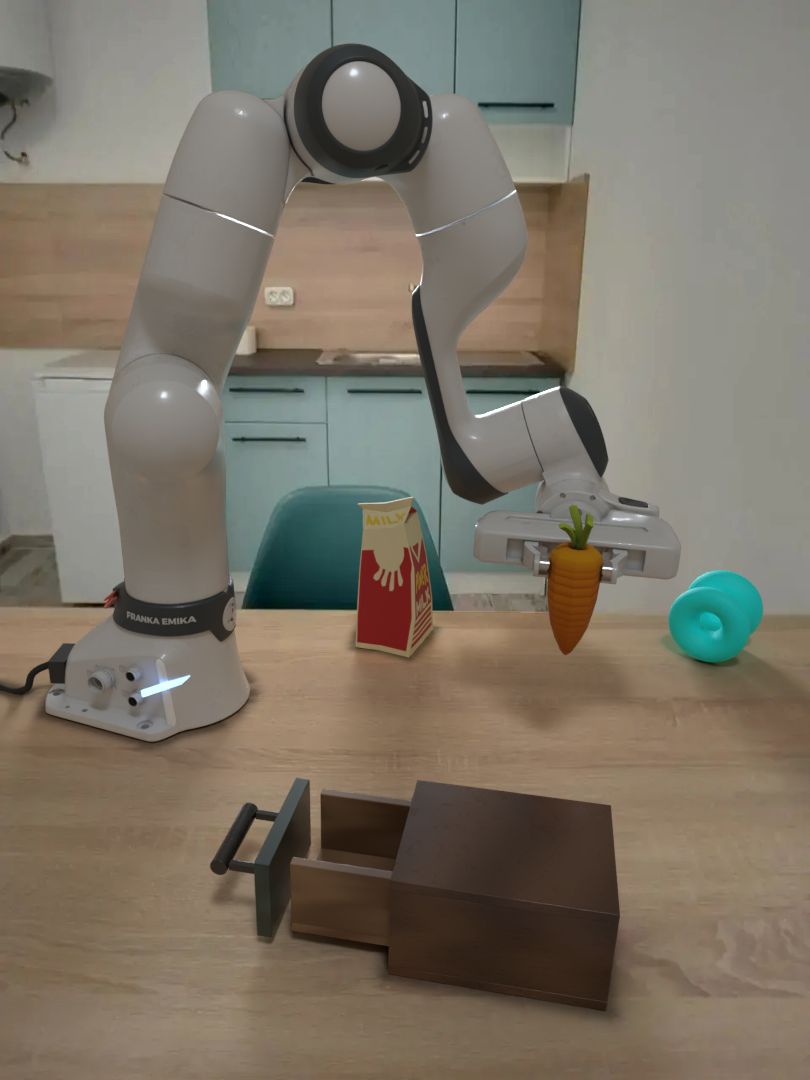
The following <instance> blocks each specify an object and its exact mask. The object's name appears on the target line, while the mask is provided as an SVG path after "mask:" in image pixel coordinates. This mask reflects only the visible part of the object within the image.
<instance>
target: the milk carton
mask: <svg viewBox="0 0 810 1080" xmlns="http://www.w3.org/2000/svg"><path fill="white" fill-rule="evenodd" d="M413 503H414V496H409V497H408V496H407V497H403V498H399V499H395V500H392V501H391V500H390V501H385V502H358V503H357V505H358V506H359V507H360V508H361V509H362V536H361V547H360V548H361V549H360V559H359V568H358V569H359V570H358V587H357V601H356V620H355V622H356V623H355V648H360V649H367V650H374V651H380V652H383V653H388V654H392V655H397V656H400V657H405V658H410V657H411V656H412V655H413V654H414V652H415V651H416V650H417V649H418V648H419V647H420V646H421V645H422V644H423V643H424V641H425V640H426V638H428V636H429V635H430V634H431V632H432V631H433V630H434V610H433V591H432V585H431V578H430V571H429V570H430V569H429V562H428V555H427V549H426V546H425V545H426V544H425V540H424V535H423V530H422V526H421V522H420V517H419V512H418V510H417V509H415V507H414V506H413Z"/></svg>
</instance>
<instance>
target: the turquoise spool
mask: <svg viewBox="0 0 810 1080" xmlns="http://www.w3.org/2000/svg"><path fill="white" fill-rule="evenodd" d="M763 615H764V603H763V599H762V597H761V594H760V591H758V589H757V587H756V586H755V584H753V583H752V582H751V581H750V580H749V579H747V578H746V577H745V576H743V575H741V574H739V573H737V572H735V571H731V570H730V571H729V570H725V569H717V570H711V571H707V572H704V573H702V574H700V575H699V576H697V578H695V579H694V580H693V581H692V582H691V583H690V585H689V587H688V588H687V590H686V591H683V592H682V593H681V594H680V595H678V597H677V598H676V599H675V600H674V601H673V603H672V604H671V607H670V609H669V612H668V617H667V618H668V620H667V621H668V622H667V623H668V624H667V625H668V629H669V633H670V636H671V637H672V639H673V641H674V642H675V644H676V646H678V648H680V650H682V651H683V652H684V653H685V654H686V655H688V656H689V657H692V658H693V659H696V660H698V661H701V662H706V663H722V662H725V661H728V660H731V659H733V658H735V657H736V656H738V655H739V654H740V653H741V652H743V650H744V648H745V647H746V645H747V643H748V641H749V639H750V636H751V635H752V634H754V633H755V632H756V631H757V629H758V628H759V626H760V625H761V622H762V620H763Z"/></svg>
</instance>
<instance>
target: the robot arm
mask: <svg viewBox="0 0 810 1080" xmlns="http://www.w3.org/2000/svg"><path fill="white" fill-rule="evenodd" d="M503 155H504V154H503V153H502V151H501V149H500V147H499V145H498V143H497V140H496V139H495V137H494V134H493V133H492V131H491V129H490V128H489V125H488V123H487V122H486V119H484V116H483V115H482V114H481V111H480V109H479V108H478V107H477V106H476V104H475V103H474V102H473V101H472V100H471V99H470V98H469V97H466V96H464V95H462V94H459V93H454V92H453V93H451V92H442V93H436V94H431V95H429V94H428V92H426V91H425V90H424V89H423V88H422V87H421V86H419V85H418V84H417V83H416V82H414V80H412V78H410V77H409V76H408V75H407V74H406V73H405V72H404V71H403V69H402V68H401V67H400V66H399V64H397V63H396V62H394V60H393V59H391V58H390V57H389V56H388V55H386V54H385V53H383V52H382V51H381V50H379V49H377V48H375V47H372V46H371V45H367V44H362V43H353V42H352V43H341V44H337V45H333V46H331V47H328V48H327V49H326V48H325V50H323V51H321V52H319V53H318V54H317V55H316V56H315V57H313V58H312V59H311V61H310V62H308V63H307V64H306V65H304V67H303V68H301V69H300V70H299V72H298V73H296V75H295V76H294V78H293V79H292V80H291V82H290V83H289V85H287V87H286V88H285V90H283V92H282V93H281V94H280V95H279V96H278V97H276V98H273V99H267V98H264V99H263V98H260V97H258V96H256V95H254V94H251V93H249V92H245V91H241V90H235V89H224V90H216V91H213V92H211V93H208V94H207V95H206V96H204V97H203V98H202V99H201V100H200V101H199V102H198V103H197V104H196V107H195V109H194V110H193V113H192V115H191V117H190V119H189V121H188V122H187V124H186V127H185V128H184V131H183V133H182V136H181V138H180V140H179V143H178V145H177V147H176V150H175V153H174V155H173V158H172V161H171V164H170V167H169V170H168V173H167V175H166V179H165V182H164V185H163V189H162V193H161V196H160V200H159V204H158V207H157V212H156V215H155V219H154V222H153V225H152V230H151V233H150V238H149V241H148V244H147V249H146V252H145V256H144V260H143V263H142V267H141V271H140V274H139V278H138V282H137V287H136V290H135V294H134V297H133V302H132V306H131V309H130V313H129V315H128V320H127V324H126V328H125V332H124V335H123V340H122V343H121V346H120V347H121V348H120V351H119V354H118V358H117V362H116V365H115V368H114V372H113V376H112V381H111V383H110V387H109V391H108V395H107V398H106V402H105V406H104V411H103V422H104V423H103V424H104V432H105V439H106V448H107V449H106V450H107V456H108V462H109V469H110V475H111V476H110V477H111V483H112V490H113V494H114V502H115V506H116V507H115V508H116V513H117V520H118V527H119V538H120V548H121V558H122V567H123V575H124V576H123V577H124V578H123V581H121V582H119V583H118V584H117V585H115V586H114V587H113V588H112V592H110V593H109V594H108V595H107V596H105V597H104V598H103V600H102V601H103V602H105V604H104V605H103V608H104V609H108V608H109V607H110V606H112V605H113V606H114V607H113V608H114V609H113V613H111V614H110V615H108V616H107V617H106V618H104V619H103V620H102V621H100V622H99V623H98V624H96V625H95V626H94V627H93V628H91V629H90V630H89V631H87V632H86V633H85V634H84V635H83V636H81V638H79V640H77V642H76V643H71V642H70V643H68V642H66V643H65V642H63V643H62V644H61V645H60V646H59V648H58V649H57V650H56V651H55V653H53V655H52V656H51V657H50V658H49V660H47V661H45V662H42V663H40V664H38V665H36V666H34V667H33V668H31V670H30V671H29V672H28V673H27V676H26V679H25V684H24V686H21V687H10V686H7V685H5V684H3V683H0V691H2V692H5V693H9V694H13V695H23V694H26V693H28V692H30V691H31V689H32V688H33V686H34V681H35V677H36V676H37V675H38V674H40V673H41V672H44V671H46V670H48V675H49V682H50V684H52V686H51V688H50V689H49V690H48V693H47V694H46V697H45V713H46V714H48V715H51V716H53V717H57V718H61V719H64V720H69V721H72V722H76V723H79V724H83V725H86V726H90V727H94V728H98V729H101V730H105V731H109V732H112V733H116V734H118V735H123V736H127V737H130V738H134V739H138V740H141V741H145V742H151V743H152V742H153V743H154V742H159V741H162V740H165V739H166V738H169V737H173V735H176V734H178V733H181V732H184V731H188V730H193V729H197V728H201V727H205V726H209V725H212V724H215V723H218V722H220V721H223V720H224V719H227V718H228V717H230V716H232V715H233V714H235V713H237V712H238V711H239V710H240V709H241V708H242V707H243V706H244V705H245V704H246V703H247V701H248V699H249V698H250V693H251V687H250V684H249V681H248V679H247V676H246V673H245V671H244V668H243V664H242V660H241V657H240V653H239V648H238V644H237V643H238V642H237V638H236V637H237V636H236V630H235V629H236V625H237V602H236V595H235V593H236V592H235V584H234V579H233V577H232V576H231V575H230V563H229V561H230V560H229V546H228V545H229V544H228V526H227V525H228V524H227V456H226V455H227V452H226V426H225V424H226V423H225V421H226V420H225V411H224V407H223V405H222V401H221V400H222V399H221V398H222V394H223V389H224V386H225V383H226V380H227V377H228V374H229V372H230V370H231V367H232V365H233V364H232V363H233V361H234V359H235V356H236V353H237V350H238V348H239V346H240V343H241V342H242V339H243V336H244V334H245V331H246V328H247V326H248V324H249V322H250V321H251V318H252V316H253V312H254V309H255V306H256V303H257V299H258V297H259V293H260V290H261V286H262V283H263V280H264V277H265V273H266V270H267V266H268V263H269V261H270V256H271V254H272V251H273V247H274V243H275V240H276V239H275V238H276V237H277V233H278V231H279V230H278V229H279V227H280V223H281V218H282V216H283V213H284V209H285V206H286V204H287V203H288V200H289V198H290V196H291V194H292V192H293V190H294V189H295V188H296V186H297V185H298V184H299V183H311V184H318V185H352V184H357V183H360V182H363V181H365V180H367V179H370V178H378V179H380V180H382V181H384V182H386V184H388V185H389V186H390V187H391V188H392V189H393V190H394V192H395V193H396V194H397V196H398V198H399V200H400V201H401V203H402V204H403V205H404V208H405V209H406V213H407V216H408V219H409V221H410V224H411V227H412V230H413V232H414V234H415V237H416V240H417V243H418V245H419V249H420V255H421V265H422V266H421V278H420V283H419V284H418V285H417V287H416V288H414V290H413V292H412V294H411V300H410V301H411V303H410V304H411V306H410V307H411V321H412V326H413V331H414V337H415V341H416V346H417V352H418V355H419V361H420V366H421V370H422V375H423V378H424V382H425V387H426V391H427V394H428V399H429V402H430V408H431V413H432V416H433V421H434V425H435V430H436V435H437V439H438V445H439V456H440V466H441V470H442V474H443V476H444V479H445V481H446V484H447V486H449V488H450V490H451V492H452V493H453V495H456V496H457V497H458V498H461V499H463V500H465V501H468V502H469V503H472V504H473V503H474V504H477V505H481V506H483V505H485V504H488V503H490V502H493V501H494V500H495V501H496V500H497V499H499V498H501V497H504V496H506V495H508V494H509V493H510V492H513V491H516V490H520V489H523V488H526V487H528V486H531V485H534V484H537V483H538V486H537V489H536V493H535V497H534V498H535V499H534V509H533V512H531V511H529V512H528V511H517V510H507V509H505V510H504V509H500V510H499V509H497V510H490V511H488V512H486V513H485V514H484V515H483V516H482V517H479V518H478V519H477V521H476V523H475V529H474V535H473V536H474V538H473V558H475V559H476V560H478V561H480V562H481V563H488V564H489V563H490V564H500V565H511V566H522V567H526V568H527V569H528V570H530V571H532V577H535V578H547V579H548V575H549V565H550V559H549V557H550V553H551V551H552V550H553V549H554V548H556V547H557V546H559V545H560V544H562V543H564V542H571V539H570V537H569V535H568V534H567V533H566V532H565V531H563V530H562V529H560V528H559V524H560V523H566V524H568V525H570V526H571V528H574V523H573V520H572V517H571V514H570V510H569V507H570V506H571V505H577V507H578V510H579V513H580V517H581V521H582V527H583V529H584V527H585V519H586V514H590V515H592V516H593V523H594V526H593V528H592V529H591V533H590V535H589V538H588V540H587V543H586V544H589V545H591V546H593V547H594V548H595V549H596V550H597V551H599V553H600V554H601V555H602V557H603V564H602V569H601V577H600V584H607V585H617V581H618V579H619V578H621V577H623V576H625V577H635V578H644V579H645V578H646V579H654V580H655V579H657V580H664V581H665V580H666V581H667V580H671V579H673V578H675V577H677V575H678V571H679V567H680V561H681V554H682V553H681V552H682V551H681V550H682V545H681V541H680V539H679V536H678V535H677V532H676V531H675V530H674V528H673V526H672V525H671V524H670V523H669V522H668V521H666V520H665V519H664V518H661V517H660V507H659V506H658V505H657V504H655V503H651V502H647V501H643V500H638V499H633V498H629V497H625V496H620V495H618V494H615V493H613V492H610V489H609V486H608V484H607V481H606V479H605V477H604V475H605V472H606V470H607V467H608V463H609V461H610V460H609V454H608V449H607V445H606V440H605V438H604V437H605V436H604V433H603V430H602V427H601V424H600V421H599V420H598V417H597V415H596V413H595V411H594V409H593V408H592V405H591V404H590V402H589V400H587V398H586V397H584V396H583V395H582V394H580V393H579V392H577V391H575V390H573V389H571V388H569V387H566V386H563V385H559V386H555V387H552V388H550V389H547V390H544V391H541V392H538V393H536V394H533V395H530V396H526V397H525V398H522V399H521V400H519V401H516V402H513V403H511V404H508V405H505V406H503V407H502V406H501V407H500V408H497V409H494V410H491V411H488V412H486V413H483V414H475V413H472V412H471V411H470V409H469V405H468V400H467V395H466V391H465V386H464V380H463V376H462V372H461V368H460V367H461V366H460V363H459V358H458V352H457V349H458V343H459V341H460V338H461V336H462V334H463V333H464V331H465V330H466V329H467V328H468V327H469V325H470V324H471V323H472V322H473V321H474V320H475V319H476V318H477V317H478V316H479V315H481V313H482V312H484V311H485V310H486V309H487V308H488V307H489V306H491V304H492V303H494V302H495V301H496V300H497V299H498V298H499V297H500V296H501V295H502V294H503V293H504V292H505V291H506V290H507V288H508V287H509V286H510V285H511V283H513V281H514V280H515V278H516V276H517V275H518V273H519V272H520V270H521V268H522V266H523V264H524V261H525V260H526V256H527V253H528V248H529V239H530V238H529V233H528V228H527V223H526V222H527V221H526V218H525V215H524V211H523V207H522V204H521V200H520V197H519V194H518V192H517V189H516V186H515V183H514V180H513V178H512V175H511V173H510V170H509V167H508V165H507V163H506V160H505V158H504V156H503Z"/></svg>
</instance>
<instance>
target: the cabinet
mask: <svg viewBox="0 0 810 1080" xmlns="http://www.w3.org/2000/svg"><path fill="white" fill-rule="evenodd" d="M411 801H412V802H411V805H410V809H409V813H408V816H407V820H406V824H405V828H404V831H403V835H402V839H401V842H400V846H399V850H398V854H397V857H396V861H395V865H394V868H393V872H392V876H391V880H390V915H389V946H388V958H387V959H388V962H387V964H388V965H387V974H388V975H392V976H399V977H404V978H411V979H416V980H423V981H427V982H428V981H429V982H434V983H440V984H446V985H452V986H457V987H464V988H469V989H476V990H482V991H486V992H487V991H488V992H492V993H493V992H494V993H500V994H505V995H511V996H516V997H524V998H528V999H535V1000H541V1001H546V1002H552V1003H558V1004H564V1005H570V1006H577V1007H583V1008H587V1009H594V1010H600V1011H607V1008H608V1001H609V1000H608V999H609V993H610V986H611V981H612V980H611V979H612V973H613V968H614V967H613V966H614V960H615V953H616V945H617V938H618V932H619V925H620V919H621V910H620V898H619V886H618V885H619V883H618V874H617V862H616V851H615V839H614V825H613V812H612V805H611V804H606V803H605V804H604V803H596V802H590V801H582V800H574V799H567V798H560V797H552V796H545V795H537V794H530V793H522V792H513V791H506V790H499V789H490V788H483V787H475V786H467V785H460V784H454V783H453V784H452V783H445V782H437V781H429V780H422V779H417V780H416V783H415V787H414V791H413V795H412V798H411Z"/></svg>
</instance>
